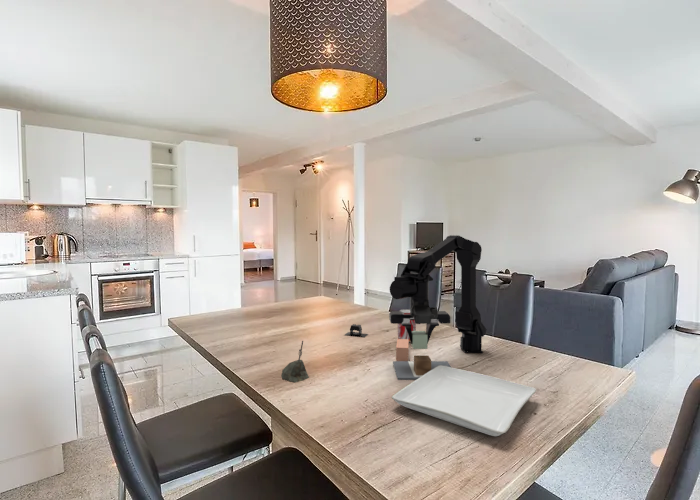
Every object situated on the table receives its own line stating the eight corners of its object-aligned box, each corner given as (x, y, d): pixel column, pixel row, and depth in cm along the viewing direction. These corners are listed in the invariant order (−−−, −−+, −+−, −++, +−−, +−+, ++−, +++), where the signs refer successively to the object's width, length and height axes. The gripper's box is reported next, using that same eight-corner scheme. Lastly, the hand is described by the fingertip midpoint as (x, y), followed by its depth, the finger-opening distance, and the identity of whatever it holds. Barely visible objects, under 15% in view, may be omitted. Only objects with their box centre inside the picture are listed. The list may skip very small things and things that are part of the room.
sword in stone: (275, 374, 118) (276, 335, 117) (298, 369, 122) (299, 332, 122) (290, 385, 110) (291, 343, 109) (313, 379, 114) (315, 340, 114)
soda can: (410, 344, 146) (410, 313, 146) (394, 341, 151) (394, 311, 150) (418, 340, 152) (419, 310, 151) (403, 337, 156) (403, 308, 156)
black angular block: (372, 335, 161) (372, 324, 161) (367, 340, 154) (367, 329, 154) (345, 332, 166) (345, 321, 165) (338, 336, 159) (338, 325, 159)
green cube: (424, 344, 125) (424, 330, 125) (427, 348, 120) (427, 334, 120) (411, 344, 125) (411, 331, 125) (413, 348, 120) (413, 334, 120)
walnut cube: (428, 369, 119) (428, 355, 118) (431, 375, 114) (431, 360, 114) (413, 369, 119) (413, 355, 118) (416, 375, 114) (416, 360, 114)
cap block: (408, 353, 137) (408, 339, 137) (408, 362, 127) (408, 348, 127) (397, 352, 138) (397, 338, 137) (396, 362, 128) (396, 347, 128)
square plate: (439, 375, 115) (439, 363, 115) (537, 401, 98) (537, 386, 98) (389, 409, 94) (389, 394, 94) (503, 449, 77) (504, 431, 77)
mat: (447, 363, 126) (447, 361, 126) (458, 379, 112) (458, 377, 112) (392, 362, 127) (392, 361, 126) (397, 379, 113) (397, 377, 112)
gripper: (392, 300, 114) (392, 352, 115) (455, 300, 113) (454, 351, 114) (389, 294, 125) (389, 340, 126) (446, 293, 125) (445, 340, 126)
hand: (419, 343), depth 123 cm, fingers closed on green cube, 4 cm apart
